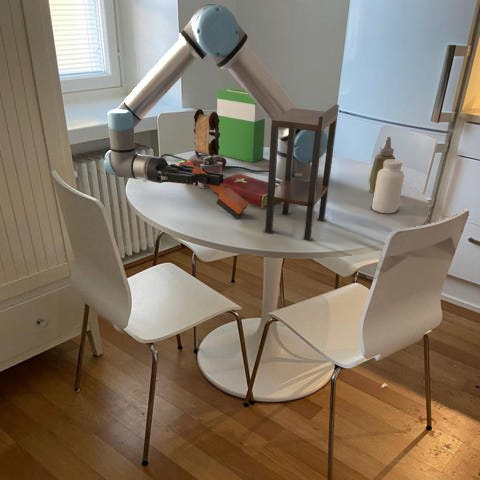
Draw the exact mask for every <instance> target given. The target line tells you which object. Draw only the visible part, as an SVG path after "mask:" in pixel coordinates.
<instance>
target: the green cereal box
mask: <svg viewBox="0 0 480 480" xmlns="http://www.w3.org/2000/svg"><path fill="white" fill-rule="evenodd" d="M216 94H217V97H216V101H217V102H216V103H217V104H216V105H217V107H216V110H217V111H216V113H217V114H218V118H219V120H220V122H219V123H218V124H219V125H218V127H219V131H218V132H219V133H220V137H219V139H218V140H219V147H220V148H219V150H218V151H219V152H218V153H219V155H220V156H222V157H228V158H232V159H237V160H241V161H245V162H249V163H255V162H257V161H260V160H262V159H264V151H265V150H264V149H265V145H264V144H265V130H266V129H265V128H266V114H265V113H264V112H263V111H262V110H261V109H260V107H259V106H258V105H257V104H256V103H255V101H254V100H253V99H252V98H251V97H250V96H249V94H248V93H247V92H246V91H245V90H244V89H240V88H234V87H227V89H226V90H224V89H223V90H222V89H217V92H216Z"/></svg>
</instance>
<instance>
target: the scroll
mask: <svg viewBox="0 0 480 480" xmlns="http://www.w3.org/2000/svg"><path fill="white" fill-rule="evenodd" d="M193 121H194V128H193V133H194V135H195V136H194V143H193V144H194V148H195V150H194V153H195V154H194V155H191V156H190V157H188V158H187V160H188V161H189V162H191V163H192V164H193V165H194V166H198V167H200V164H203V163H204V161H203V158H206V157H208V156H212V157H213V156H218V155H219V153H218V152H219V151H218V150H219V148H220V147H219V140H218V139H219V137H220V133H219V132H218V131H219V127H218V125H219V124H218V123H219V122H220V120H219V118H218V114H217V111H212V112H211V113H210V114H209V115H206V114H205V113H204V111H203V110H202V109H201V108H199V109H197V110H196V111H195V113H194V115H193ZM210 136H211V137H214V138H213V139H212V140H211V141H210V142H209V140H210ZM219 156H220V157H221V160H217V162H222V167H223V166H227V158H225V156H223V155H219ZM214 162H215V160H214Z"/></svg>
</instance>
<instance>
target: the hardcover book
mask: <svg viewBox="0 0 480 480" xmlns="http://www.w3.org/2000/svg"><path fill="white" fill-rule="evenodd" d="M220 184H221V185H222V186H223V187H224V188H226V189H227V188H228V187H229V188H230V189H232V190H233V191H234V192H235V193H237V194H238V195H239V196H241V197H242V198H243V199H244V200H246V201H247V202H248V203H249V205H252V206H254V207H257V208H261V209H267V193H268V181H266V180H262V179H259V178H255V177H252V176H248V175H245V174H241V173H236V174H235V173H234V174H232V175H229V176H226V177H223V184H222V183H220ZM279 185H280V184H277V183H275V188H277V187H278V186H279ZM214 193H216V194H218V193H217V192H215V191H214ZM278 203H279V202H276V201H274V205H276V204H278Z"/></svg>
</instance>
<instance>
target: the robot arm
mask: <svg viewBox="0 0 480 480" xmlns="http://www.w3.org/2000/svg"><path fill="white" fill-rule="evenodd" d="M206 56H208V57H209V58H210V59H211V60H212V62H213V63H214V64H215V65H216V66H217V68H219V69H220V70H221V69H222V70H227V71H228V73H230V74H231V75H232V77H233V78H234V79H235V80H236V82H237V83H238V84H239V85H240V87H241V88H243V90H245V91H246V92H247V93H248V94H249V96H250V97H251V98H252V99H253V100H254V101H255V103H256V104H257V105H258V106H259V107H260V109H261V110H262V111H263V112H264V113H265V117H267V118H268V119H269V121H270V122H272V119H274V118H276V117H278V116H279V115H281V114H283V113H284V112H286V111H288V110H290V109H291V108H296V109H299V107H298V106H297V105H296V104H295V102H294V101H293V100H292V99H291V98H290V96H289V95H288V94H287V92H286V91H285V90H284V89H283V87H282V86H281V85H280V84H279V82H278V81H277V80H276V78H274V76H273V75H272V74H271V72H270V71H269V70H268V69H267V68H266V66H265V64H263V62H262V61H261V60H260V59H259V57H258V56H257V55H256V54H255V52H254V51H253V50H252V48H250V46H249V36H248V35H247V33H246V32H245V30H244V29H243V28H242V27H241V25H240V24H239V23H238V20H237V18H236V16H235V15H234V13H233V12H232V11H231V10H230V9H228V8H227V7H225V6H222V5H218V4H213V3H208V4H204V5H202V6H201V7H200V8H199V9H197V10H196V12H195V13H194V14H193V16H192V17H191V18H190V20H189V22H188V23H187V24H186V25H185V27H184V28H183V29H182V30H181V32H179V39H178V40H177V42H175V44H174V45H173V46H172V47H171V48H170V49H169V50H168V51H167V52H166V54H165V55H164V56H163V57H161V59H160V60H159V61H158V63H157V64H156V65H155V66H153V68H152V69H151V70H150V71H149V72H148V73H147V74H146V76H145V77H144V78H143V79H142V80H141V81H140V83H138V84H137V86H136V87H135V88H134V89H133V90H132V92H131V93H129V95H128V96H127V97H126V98H125V99H124V101H123V102H121V104H120V105H119V106H117V107H116V108H114V109H111V110H109V111H108V112H107V115H106V116H107V128H108V137H109V143H110V150H108V151H107V152H106V153H105V154H104V161H103V165H104V169H105V171H106V172H107V173H108V174H110V175H111V176H115V177H119V178H127V179H132V180H133V179H135V180H140V181H143V183H146V182H152V183H156V184H157V183H158V184H163V183H175V184H181V185H182V184H183V185H191V186H193V185H195V186H196V187H198V186H199V184H201V183H203V184H210V185H216V186H220V183H222V184H223V178H224V175H225V174H224V173H223V172H222V173H215V172H208V171H205V168H204V167H203V168H201V167H199V168H200V169H202V170H203V171H204V172H205V173H207V174H203V173H199V176H198V174H195V173H192V171H193V169H194V167H196V166H191V165H187V164H184V163H180V162H178V164H179V165H178V164H177V163H170V164H169V163H168V161H167V160H166V158H164V157H171V158H174V159H177V160H180V161H188V158H184V157H181V156H178V155H174V154H170V153H163V154H161V155H160V156H153V155H149V154H141V153H137V151H136V149H137V148H136V138H135V137H136V136H135V128H136V127H137V126H138V124H139V123H140V122H141V121H143V119H144V118H145V116H146V115H147V114H149V112H150V111H151V110H152V109H153V108H154V107H155V106H156V105H157V104H158V103H159V101H160V100H162V98H163V97H164V96H165V95H166V94H168V92H169V91H170V90H171V89H172V87H174V85H176V83H177V82H178V81H179V80H180V79H181V78H182V77H183V76H184V75H185V74H186V73H187V72H188V71H189V69H190V68H191V67H192V66H193V65H195V63H196V62H197V61H203V60H204V59H205V57H206ZM288 131H289V128H283V127H279V135H278V150H277V166H276V181H275V183H278V184H281V183H282V182H283V181H284V180H285V171H286V158H287V145H288ZM314 136H315V131H309V130H300V129H296V130H295V142H294V155H293V167H292V179H294V180H300V181H307V182H310V174H311V165H312V155H313V145H314ZM327 142H328V134H327V133H326V131H325V129H324V130H323V133H322V142H321V151H320V159H321V158H322V157H323V155H324V154H326V150H327ZM222 169H240V170H246V171H248V172H253V173H269V169H251V168H248V167H244V166H237V165H225V166H223V167H222Z"/></svg>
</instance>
